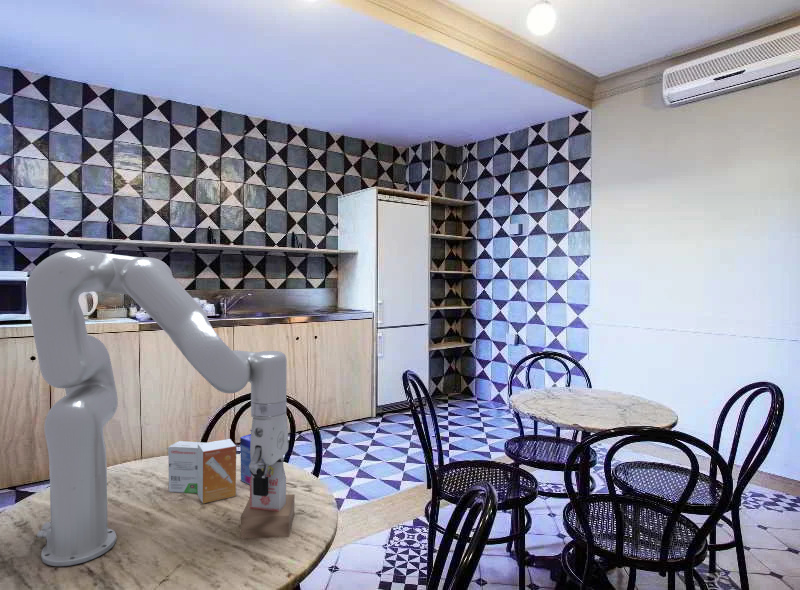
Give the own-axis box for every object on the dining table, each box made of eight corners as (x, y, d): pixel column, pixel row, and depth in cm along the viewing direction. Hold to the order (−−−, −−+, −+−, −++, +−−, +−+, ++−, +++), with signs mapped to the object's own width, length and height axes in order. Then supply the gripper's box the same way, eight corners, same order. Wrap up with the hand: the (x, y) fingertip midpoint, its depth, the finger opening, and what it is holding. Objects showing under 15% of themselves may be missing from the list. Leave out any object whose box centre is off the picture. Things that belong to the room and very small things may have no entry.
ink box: (209, 485, 128) (209, 441, 127) (199, 494, 123) (199, 448, 122) (178, 483, 129) (178, 439, 128) (167, 492, 124) (167, 446, 123)
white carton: (257, 500, 110) (257, 457, 110) (285, 503, 109) (286, 459, 109) (249, 508, 107) (250, 463, 106) (279, 511, 105) (279, 465, 105)
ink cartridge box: (238, 481, 131) (238, 428, 130) (255, 474, 135) (256, 423, 135) (262, 491, 125) (262, 436, 124) (279, 484, 129) (279, 430, 129)
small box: (202, 504, 118) (202, 451, 117) (197, 494, 123) (196, 443, 122) (236, 496, 122) (236, 445, 121) (230, 487, 127) (230, 438, 127)
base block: (240, 540, 103) (240, 517, 103) (250, 516, 113) (250, 495, 113) (288, 538, 104) (288, 515, 104) (294, 515, 114) (294, 494, 114)
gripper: (267, 420, 98) (267, 507, 99) (299, 399, 115) (299, 473, 116) (232, 418, 99) (232, 504, 100) (270, 397, 116) (269, 470, 117)
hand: (268, 486), depth 108 cm, fingers open, 7 cm apart
